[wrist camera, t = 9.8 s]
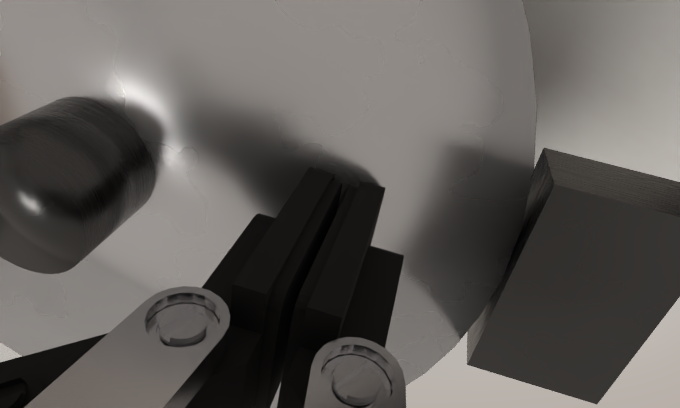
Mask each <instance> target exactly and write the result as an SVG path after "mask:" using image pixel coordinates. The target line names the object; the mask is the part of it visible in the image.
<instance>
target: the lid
mask: <svg viewBox="0 0 680 408" xmlns="http://www.w3.org/2000/svg"><path fill="white" fill-rule="evenodd" d="M536 115H537V100H536V90H535V79H534V69H533V59H532V49H531V38H530V30H529V26H528V22H527V18H526V14H525V10H524V6H523V2H522V0H0V342H1V343H3V344H4V345H6V346H7V347H9V348H11V349H12V350H14V351H15V352H17V353H18V354H20V355H22V356H26V355H30V354H33V353H37V352H41V351H44V350H48V349H52V348H55V347H59V346H63V345H66V344H70V343H74V342H77V341H81V340H85V339H88V338H92V337H95V336H99V335H103V334H106V333H109V332H110V331H112V330H113V329H114V328H115V327H116V326H117V325H118V324H120V323H121V322H122V321H123V320H124V319H125V318H126V317H128V316H129V315H130V314H131V313H132V312H133V311H134V310H135V309H137V308H138V307H139V306H140V305H141V304H142V303H143V302H145V301H146V300H147V299H149V298H150V297H152V296H153V295H155V294H156V293H158V292H161V291H164V290H166V289H169V288H174V287H181V286H190V287H200V288H202V287H203V285H204V284H205V283H206V281H207V280H208V278H209V277H210V276H211V274H212V273H213V272H214V270H215V269H216V268H217V266H218V265H219V263H220V262H221V261H222V259H223V258H224V257H225V255H226V254H227V253H228V251H229V250H230V249H231V247H232V246H233V244H234V243H235V242H236V240H237V239H238V238H239V236H240V235H241V234H242V232H243V231H244V230H245V228H246V227H247V225H248V224H249V223H250V221H251V220H252V219H253V217H254V216H255V215H256V214H259V213H260V214H263V215H267V216H270V217H274V218H276V217H277V215H278V214H279V212H280V211H281V209H282V208H283V206H284V205H285V203H286V202H287V200H288V199H289V197H290V196H291V194H292V193H293V191H294V190H295V188H296V187H297V185H298V184H299V182H300V181H301V179H302V178H303V176H304V175H305V173H306V172H307V170H308V169H309V168H310V167H312V168H316V169H320V170H323V171H327V172H331V173H334V174H335V179H334V180H335V181H338V182H342V189H341V194H340V199H339V203H338V208H337V211H338V209H339V207H340V205H341V203H342V200H343V198H344V196H345V194H346V192H347V190H348V188H349V186H350V185H353V186H356V187H359V185H360V183H361V181H363V182H367V183H370V184H374V185H378V186H381V187H385V188H386V189H385V193H384V197H383V201H382V204H381V208H380V212H379V216H378V220H377V223H376V227H375V231H374V235H373V238H372V242H371V246H374V247H377V248H381V249H384V250H387V251H391V252H394V253H398V254H401V255H404V259H403V265H402V269H401V274H400V279H399V284H398V288H397V293H396V298H395V303H394V308H393V312H392V317H391V322H390V327H389V331H388V336H387V341H386V346H385V349H387V350H388V351H389V352H390V353H391V354H392V355H393V356H394V357H395V358H396V360H397V361H398V363H399V365H400V367H401V368H402V370H403V374H404V379H405V386H406V385H407V384H409V383H410V382H412V381H413V380H415V379H417V378H418V377H420V376H421V375H423V374H424V373H426V372H427V371H428V370H429V369H430V368H431V367H432V366H434V365H435V364H436V363H437V362H438V361H439V360H440V359H441V358H443V357H444V356H445V355H446V354H447V353H448V352H449V351H450V350H452V349H453V348H454V347H455V346H456V344H457V343H458V342H459V341H460V339H461V338H462V337H463V336H464V334H465V333H466V332H467V331H468V338H467V365H471V366H474V367H477V368H480V369H483V370H487V371H490V372H493V373H496V374H500V375H503V376H506V377H509V378H513V379H516V380H519V381H522V382H526V383H529V384H532V385H536V386H539V387H542V388H545V389H549V390H552V391H555V392H558V393H562V394H565V395H568V396H572V397H575V398H578V399H581V400H585V401H588V402H591V403H595V404H597V403H598V402H599V401H600V400H601V398H602V397H603V396H604V394H605V393H606V392H607V391H608V389H609V388H610V387H611V385H612V384H613V383H614V381H615V380H616V379H617V378H618V376H619V375H620V374H621V372H622V371H623V369H624V368H625V367H626V366H627V364H628V363H629V362H630V361H631V359H632V358H633V357H634V355H635V354H636V353H637V351H638V350H639V349H640V347H641V346H642V345H643V344H644V342H645V341H646V340H647V338H648V337H649V336H650V334H651V333H652V332H653V330H654V329H655V328H656V327H657V325H658V324H659V323H660V321H661V320H662V319H663V318H664V316H665V315H666V314H667V312H668V311H669V310H670V308H671V307H672V306H673V305H674V303H675V302H676V301H677V299H678V298H679V297H680V182H677V181H673V180H669V179H665V178H661V177H657V176H653V175H649V174H645V173H641V172H637V171H633V170H629V169H626V168H622V167H618V166H614V165H610V164H606V163H602V162H598V161H594V160H590V159H586V158H582V157H578V156H574V155H570V154H566V153H562V152H558V151H554V150H550V149H547V148H544V149H543V151H542V153H541V155H540V158H539V160H538V162H537V164H536V166H535V169H534V155H535V135H536ZM280 386H281V383H280V385H279V388H278V390H277V392H276V395H275V397H274V400H273V402H272V404H271V407H270V408H277V404H278V398H279V392H280Z"/></svg>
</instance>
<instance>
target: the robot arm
mask: <svg viewBox="0 0 680 408" xmlns="http://www.w3.org/2000/svg"><path fill="white" fill-rule="evenodd" d="M334 179H335V174H334V173H331V172H327V171H323V170H320V169H316V168H312V167H310V168H309V169H308V170H307V172H306V173H305V175H304V176H303V178H302V179H301V181H300V182H299V184H298V185H297V187H296V188H295V190H294V191H293V193H292V194H291V196H290V197H289V199H288V200H287V202H286V203H285V205H284V206H283V208H282V209H281V211H280V212H279V214H278V215H277V217H276V218H274V217H270V216H267V215H263V214H260V213H259V214H256V215H255V216H254V217H253V219H252V220H251V221H250V223H249V224H248V225H247V227H246V228H245V230H244V231H243V232H242V234H241V235H240V236H239V238H238V239H237V240H236V242H235V243H234V244H233V246H232V247H231V249H230V250H229V251H228V253H227V254H226V255H225V257H224V258H223V259H222V261H221V262H220V263H219V265H218V266H217V268H216V269H215V270H214V272H213V273H212V274H211V276H210V277H209V278H208V280H207V281H206V283H205V284H204V285H203V287H202V288H200V287H190V286H181V287H174V288H169V289H166V290H164V291H161V292H158V293H156V294H155V295H153V296H152V297H150V298H149V299H147V300H146V301H145V302H143V303H142V304H141V305H140V306H139V307H138V308H137V309H135V310H134V311H133V312H132V313H131V314H130V315H129V316H128V317H126V318H125V319H124V320H123V321H122V322H121V323H120V324H118V325H117V326H116V327H115V328H114V329H113V330H112V331H110V332H109V333H106V334H103V335H99V336H95V337H92V338H88V339H85V340H81V341H77V342H74V343H70V344H66V345H63V346H59V347H55V348H52V349H48V350H44V351H41V352H37V353H33V354H30V355H26V356H23V357H19V358H15V359H12V360H8V361H4V362H1V363H0V408H270V407H271V404H272V402H273V400H274V397H275V395H276V392H277V390H278V388H279V385H280V383H281V386H280V392H279V398H278V404H277V408H406V386H405V379H404V374H403V370H402V368H401V367H400V365H399V363H398V361H397V360H396V358H395V357H394V356H393V355H392V354H391V353H390V352H389V351H388V350H387V349H385V346H386V341H387V336H388V331H389V327H390V322H391V317H392V312H393V308H394V303H395V298H396V293H397V288H398V284H399V279H400V274H401V269H402V265H403V259H404V255H401V254H398V253H394V252H391V251H387V250H384V249H381V248H377V247H374V246H371V242H372V238H373V235H374V231H375V227H376V223H377V220H378V216H379V212H380V208H381V204H382V201H383V197H384V193H385V189H386V188H385V187H381V186H378V185H374V184H370V183H367V182H363V181H361V183H360V185H359V187H356V186H353V185H350V186H349V188H348V190H347V192H346V194H345V196H344V198H343V200H342V203H341V205H340V207H339V209H338V211H337V208H338V203H339V199H340V194H341V189H342V182H338V181H335V180H334Z"/></svg>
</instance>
